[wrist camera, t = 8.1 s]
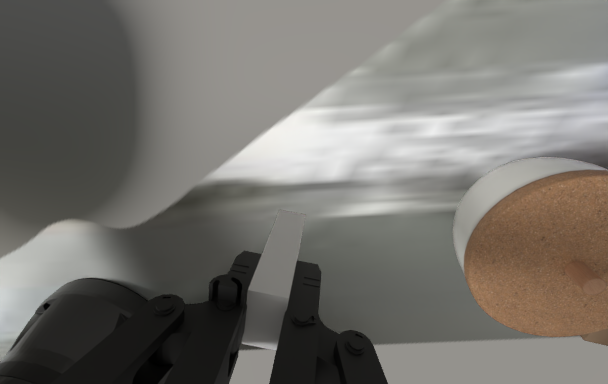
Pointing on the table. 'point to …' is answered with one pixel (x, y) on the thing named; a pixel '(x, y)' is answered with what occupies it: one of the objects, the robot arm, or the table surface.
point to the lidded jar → (538, 245)
